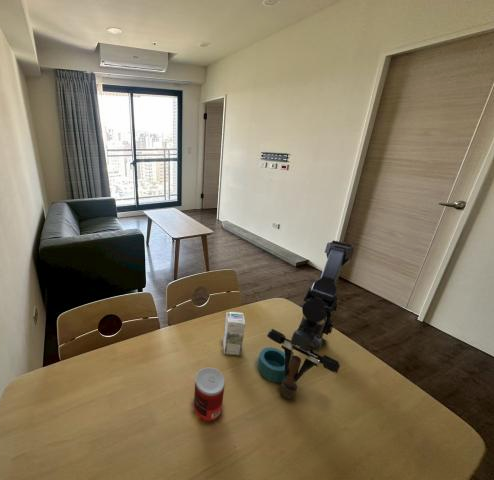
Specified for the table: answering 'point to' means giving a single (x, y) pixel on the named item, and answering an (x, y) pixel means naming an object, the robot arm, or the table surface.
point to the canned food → (208, 394)
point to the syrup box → (233, 333)
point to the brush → (291, 378)
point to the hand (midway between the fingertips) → (290, 378)
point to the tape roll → (272, 364)
